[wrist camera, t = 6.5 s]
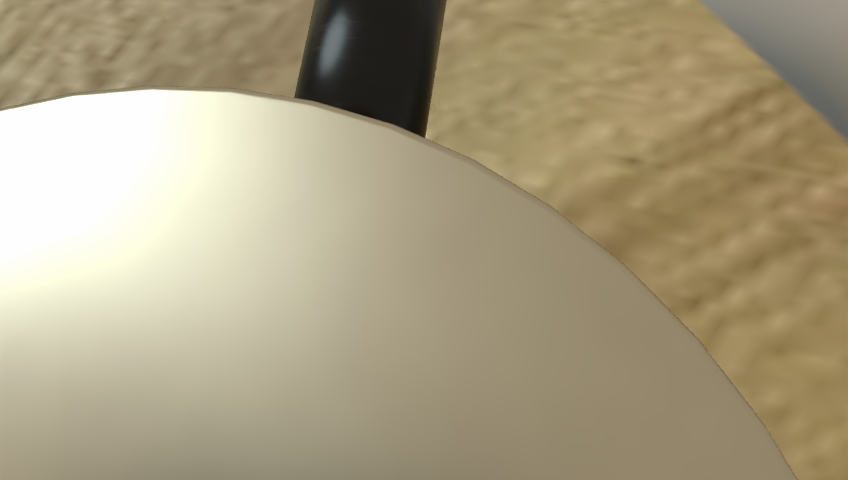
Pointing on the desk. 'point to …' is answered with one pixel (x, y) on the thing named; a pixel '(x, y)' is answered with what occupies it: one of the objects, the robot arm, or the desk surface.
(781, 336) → the desk surface
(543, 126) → the desk surface
